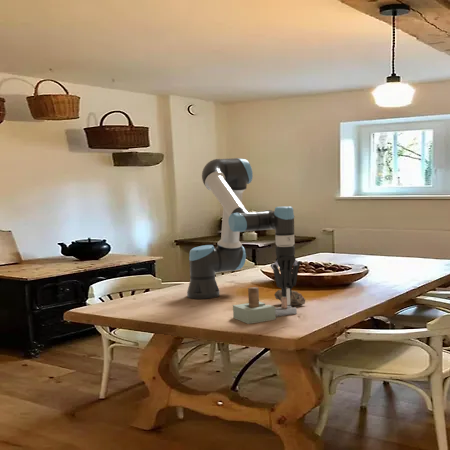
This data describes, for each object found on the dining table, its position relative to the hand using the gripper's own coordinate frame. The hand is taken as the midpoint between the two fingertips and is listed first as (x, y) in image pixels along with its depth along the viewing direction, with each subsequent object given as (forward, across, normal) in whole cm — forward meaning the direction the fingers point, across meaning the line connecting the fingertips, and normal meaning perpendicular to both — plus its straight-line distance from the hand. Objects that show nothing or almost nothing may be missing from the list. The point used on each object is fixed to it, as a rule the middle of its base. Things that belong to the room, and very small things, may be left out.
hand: (287, 304), depth 245 cm
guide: (+4, -3, 0) cm, 5 cm away
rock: (+4, +10, +13) cm, 17 cm away
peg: (+4, -15, 0) cm, 16 cm away
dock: (+4, -15, 0) cm, 16 cm away
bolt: (+3, -5, 0) cm, 6 cm away
